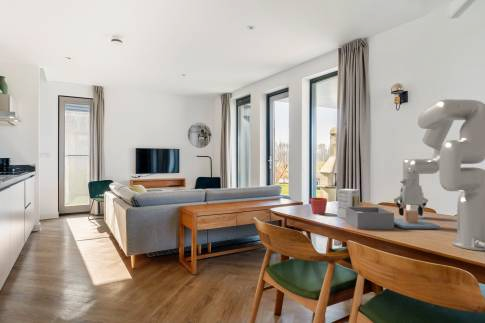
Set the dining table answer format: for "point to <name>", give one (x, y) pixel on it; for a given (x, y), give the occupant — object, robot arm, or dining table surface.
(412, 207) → the milk carton
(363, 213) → the storage box
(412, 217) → the lid
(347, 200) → the supplement box
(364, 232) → the dining table surface
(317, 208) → the flower pot
